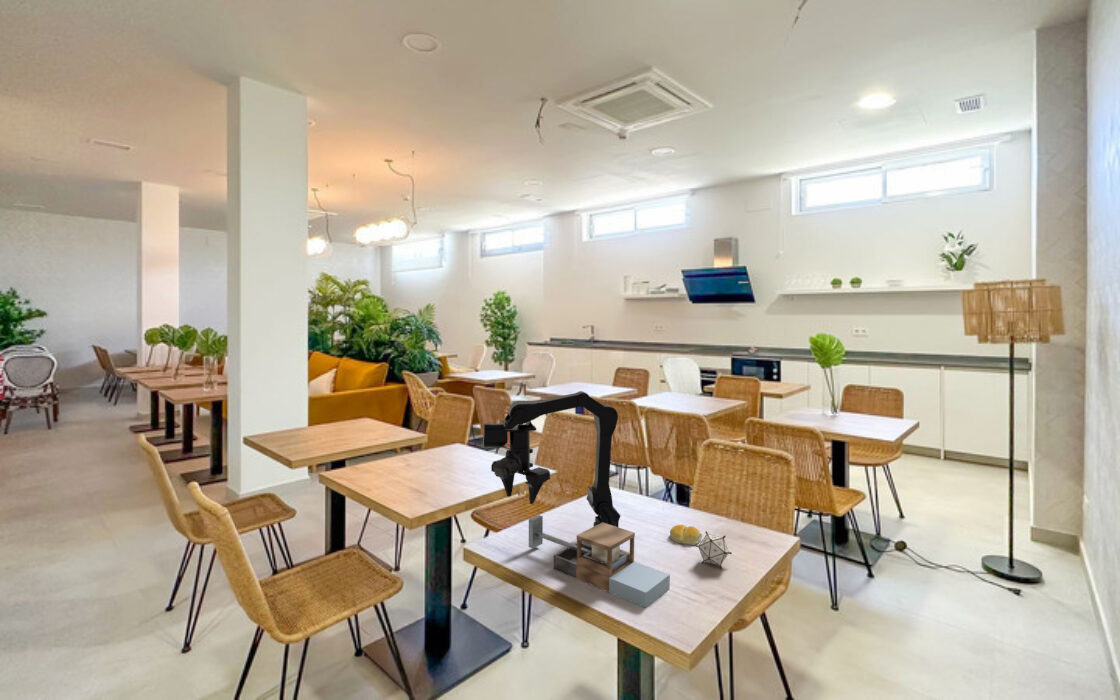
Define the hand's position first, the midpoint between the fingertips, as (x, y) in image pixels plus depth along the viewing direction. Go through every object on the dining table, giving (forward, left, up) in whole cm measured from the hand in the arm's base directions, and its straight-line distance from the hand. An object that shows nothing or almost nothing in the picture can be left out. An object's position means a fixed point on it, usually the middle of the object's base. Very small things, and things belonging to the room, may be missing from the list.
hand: (520, 500), depth 148 cm
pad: (-20, +34, -13) cm, 41 cm away
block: (-15, +25, -9) cm, 31 cm away
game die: (-45, +28, -13) cm, 55 cm away
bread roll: (-47, +12, -13) cm, 51 cm away
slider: (-10, +16, -12) cm, 23 cm away
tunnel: (-13, +22, -13) cm, 29 cm away
